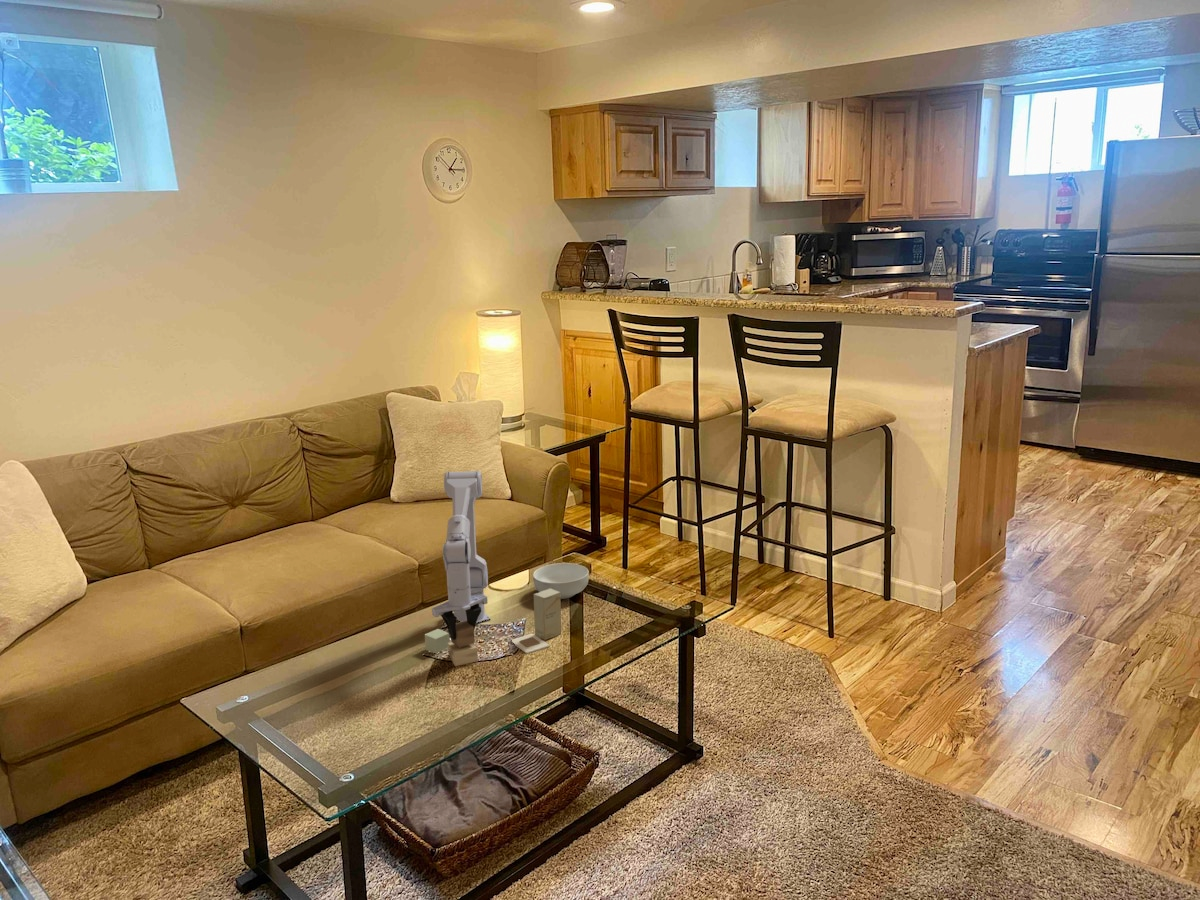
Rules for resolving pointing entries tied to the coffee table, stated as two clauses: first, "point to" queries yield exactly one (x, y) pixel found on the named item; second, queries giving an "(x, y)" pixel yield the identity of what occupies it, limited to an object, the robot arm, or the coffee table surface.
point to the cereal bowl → (561, 578)
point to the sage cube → (436, 640)
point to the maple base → (462, 654)
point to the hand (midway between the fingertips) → (461, 635)
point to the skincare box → (547, 613)
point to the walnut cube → (464, 634)
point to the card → (530, 643)
